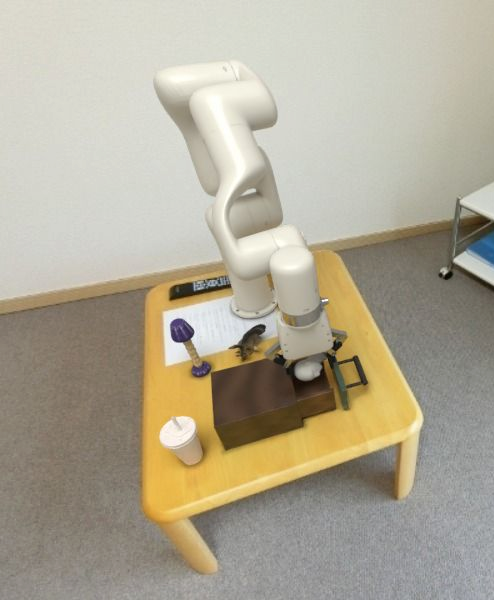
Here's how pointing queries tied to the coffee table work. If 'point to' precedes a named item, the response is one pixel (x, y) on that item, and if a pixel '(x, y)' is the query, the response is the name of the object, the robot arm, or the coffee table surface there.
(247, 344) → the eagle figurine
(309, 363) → the pale two-lobed sculpture
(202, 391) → the coffee table surface
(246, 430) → the cabinet
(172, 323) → the toy lamp
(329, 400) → the drawer
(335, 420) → the coffee table surface
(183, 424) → the smoothie
